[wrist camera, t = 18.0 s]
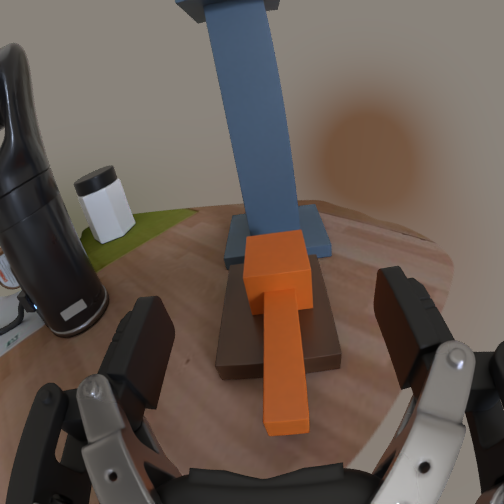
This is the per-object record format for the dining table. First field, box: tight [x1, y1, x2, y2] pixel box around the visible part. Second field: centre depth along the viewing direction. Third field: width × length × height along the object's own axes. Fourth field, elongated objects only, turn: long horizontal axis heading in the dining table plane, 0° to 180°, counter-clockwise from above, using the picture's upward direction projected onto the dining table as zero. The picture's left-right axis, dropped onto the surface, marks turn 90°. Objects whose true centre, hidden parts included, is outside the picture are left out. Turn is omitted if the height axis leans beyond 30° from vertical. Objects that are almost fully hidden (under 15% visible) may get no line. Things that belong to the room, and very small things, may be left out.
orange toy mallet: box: [243, 230, 313, 436], centre depth 19 cm, size 5×16×4 cm, turn 179°
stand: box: [175, 0, 332, 270], centre depth 28 cm, size 12×11×30 cm
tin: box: [0, 248, 20, 289], centre depth 38 cm, size 15×3×8 cm, turn 134°
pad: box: [215, 254, 342, 380], centre depth 24 cm, size 9×12×2 cm
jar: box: [74, 166, 135, 244], centre depth 46 cm, size 9×8×12 cm
